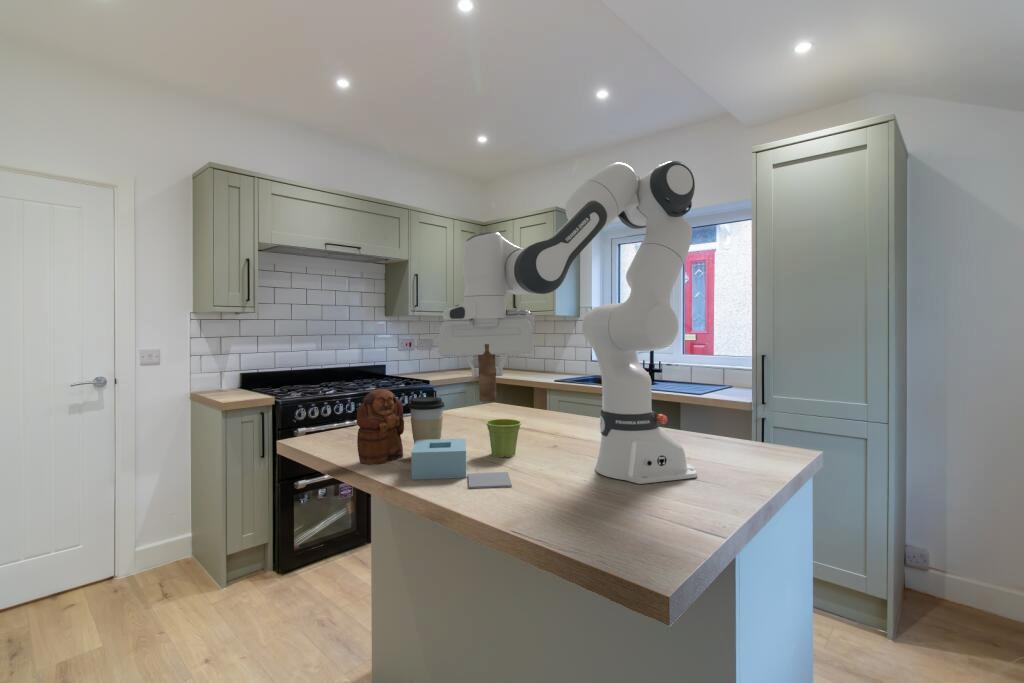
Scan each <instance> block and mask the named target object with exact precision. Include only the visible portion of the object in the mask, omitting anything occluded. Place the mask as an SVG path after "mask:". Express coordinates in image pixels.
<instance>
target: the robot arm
mask: <svg viewBox="0 0 1024 683" xmlns="http://www.w3.org/2000/svg"><path fill="white" fill-rule="evenodd" d="M695 187H696V182H695V177H694V175H693V172H692V171H691V169H690V167H688V166H687V165H686V164H685V163H684V162H681V161H678V160H671V161H667V162H665V163H662V164H659V165H658V166H656V167H655V168H654V169H653V170H651V171H649V172H647V173H646V174H645V175H643V176H638V175H637V174H636V172H635V170H634V169H633V168H632V167H631V166H630V165H628V164H626V163H623V162H613V163H611V164H609V165H607V166H605V167H603V168H602V169H600V170H599V171H597V172H596V173H594V174H593V175H592V176H590V177H589V178H588V179H586V180H585V181H584V182H583V183H582V184H581V185H580V186H578V188H577V189H576V190H574V192H573V193H572V195H570V197H569V198H568V200H567V201H566V203H565V215H566V216H565V217H566V219H567V221H566V223H564V225H562V226H561V227H560V228H559V229H558V230H557V231H556V232H555V233H554V234H553V236H551V237H550V238H548V239H545V240H542V241H538V242H535V243H533V244H530V245H529V246H527V247H526V246H525V247H524V248H523V247H522V248H521V247H520V246H518V245H515V244H513V243H511V242H510V241H508V240H507V239H506V238H504V237H503V236H502V234H501V233H500V232H497V231H488V232H487V231H486V232H482V233H481V232H480V233H479V234H474V235H472V236H471V237H469V238H467V239H466V241H465V242H464V246H463V251H462V252H463V253H462V256H463V257H462V277H463V281H464V293H463V303H462V304H456V305H455V306H453V307H450V308H449V307H448V308H446V309H445V310H444V311H443V312H442V316H443V319H444V321H443V323H442V324H441V326H440V328H439V332H438V343H437V345H438V346H437V352H438V354H439V355H440V356H441V357H458V356H461V357H462V356H463V357H464V356H465V360H466V363H467V364H468V366H469V367H470V369H471V377H472V378H477V377H478V378H479V368H478V367H475V366H474V364H473V363H472V361H474V356H478V355H482V354H484V352H485V344H489V352H490V353H491V354H495V355H499V359H500V360H501V362H500V363H499V365H498V366H495V367H496V377H503V374H504V370H503V369H504V367H505V366H506V363H507V361H508V355H515V354H531V353H532V352H533V351H534V350H535V338H534V337H535V336H534V332H533V329H534V328H535V316H534V314H533V313H532V312H530V311H528V310H527V309H507V296H506V295H507V293H508V294H512V295H516V296H519V295H521V296H522V295H532V294H533V295H534V294H539V295H540V294H541V295H546V294H550V293H553V292H554V291H556V290H557V289H559V287H560V286H561V285H562V284H563V283H564V281H565V278H566V276H567V274H568V272H569V269H570V267H571V266H572V264H573V262H574V261H575V259H576V258H577V257H578V256H579V255H580V253H581V252H583V250H585V248H586V247H587V246H588V245H589V244H590V243H591V242H592V241H593V239H594V238H595V237H597V235H598V234H599V233H601V231H603V230H604V229H606V228H607V227H608V226H609V225H610V224H611V223H612V222H614V220H616V219H617V218H618V219H619V220H620V221H621V222H622V223H623V224H624V225H625V226H626V227H627V228H629V229H634V230H637V229H638V230H640V229H644V228H645V234H644V238H643V240H642V241H641V243H640V244H639V247H638V249H637V252H636V253H635V255H634V257H633V259H632V261H631V263H630V265H629V266H628V269H627V271H626V274H625V278H626V279H625V280H626V283H627V285H628V286H629V289H630V293H629V296H628V298H627V299H626V301H624V302H617V303H616V302H615V303H604V304H601V305H599V306H596V307H594V308H591V309H590V310H589V311H587V312H586V314H584V316H583V320H582V323H581V328H582V329H581V330H582V331H581V332H582V335H583V337H584V339H585V341H587V342H588V344H590V347H591V348H592V350H593V352H594V354H595V357H596V360H597V363H598V367H599V371H600V376H601V394H602V397H601V400H602V402H601V404H602V406H601V407H602V408H601V409H600V414H599V415H600V416H599V431H600V434H601V436H600V445H599V452H598V457H597V461H596V465H595V467H594V469H595V471H596V472H597V473H598V474H600V475H602V476H604V477H608V478H611V479H615V480H623V481H628V482H631V483H634V484H639V485H641V484H644V485H645V484H651V483H659V482H668V481H676V480H677V481H679V480H686V479H687V480H688V479H694V478H697V477H698V472H697V470H696V468H695V466H693V465H692V464H690V463H688V462H687V457H686V452H685V449H684V447H683V445H682V444H681V443H680V442H678V441H677V440H676V439H675V438H673V437H672V436H671V435H670V434H668V433H667V431H665V430H664V429H662V428H661V427H660V424H662V425H665V424H667V422H668V417H667V416H666V415H665V414H662V413H657V412H655V411H653V410H652V392H653V391H652V378H651V375H650V374H649V372H648V371H647V370H646V369H645V368H644V367H643V366H642V364H641V363H640V360H639V358H638V354H637V352H645V353H646V352H652V351H658V350H661V349H666V348H668V347H670V345H672V344H673V343H674V342H675V340H676V338H677V335H678V331H679V320H678V317H677V314H676V313H675V311H674V309H673V308H672V307H671V294H672V291H673V288H674V286H675V284H676V281H677V279H678V276H679V274H680V272H681V270H682V267H683V266H684V264H685V261H686V259H687V256H688V253H689V251H690V250H689V249H690V247H691V244H692V238H693V233H694V232H693V228H692V225H691V224H690V222H689V221H688V220H687V219H686V218H685V217H684V216H685V215H686V214H688V213H689V212H690V210H691V209H692V203H693V202H692V201H693V197H694V195H695V190H696V189H695Z"/></svg>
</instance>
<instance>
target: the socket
mask: <svg viewBox="0 0 1024 683" xmlns="http://www.w3.org/2000/svg"><path fill="white" fill-rule="evenodd" d="M466 439H467V438H440V439H428V440H416V442H415V445H414V444H413V448H412V450H411V452H410V453H411V454H410V455H411V480H431V479H434V480H436V479H438V480H439V479H460V478H461V479H463V478H467V445H466V444H467V443H466Z"/></svg>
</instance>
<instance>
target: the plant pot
mask: <svg viewBox="0 0 1024 683" xmlns="http://www.w3.org/2000/svg"><path fill="white" fill-rule="evenodd" d="M485 425H486V426H487V430H488V435H489V441H490V448H491V450H490V451H491V455H492V456H493V457H496V458H497V457H498V458H503V457H506V458H510V457H514V456H515V455H516V451H517V444H518V436H519V430H520V429H521V428H520V427H521V425H522V420H517V419H512V418H497V419H496V418H494V419H489V420H486V421H485Z"/></svg>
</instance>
